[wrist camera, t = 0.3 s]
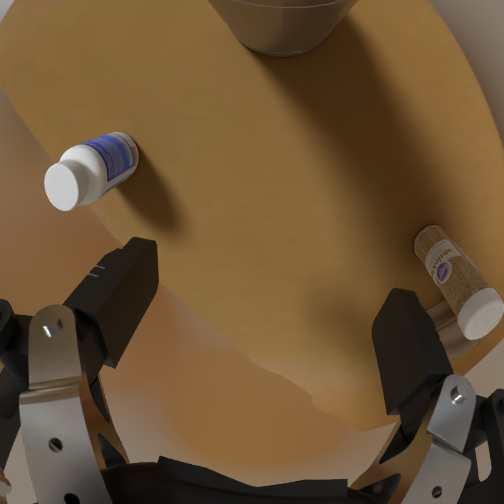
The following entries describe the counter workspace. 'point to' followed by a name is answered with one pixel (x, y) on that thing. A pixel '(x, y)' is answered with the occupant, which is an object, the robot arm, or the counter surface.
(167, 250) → the counter surface
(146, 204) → the counter surface
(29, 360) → the robot arm
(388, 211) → the counter surface
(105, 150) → the pill bottle
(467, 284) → the sprinkles bottle
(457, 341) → the walnut plinth
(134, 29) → the counter surface
